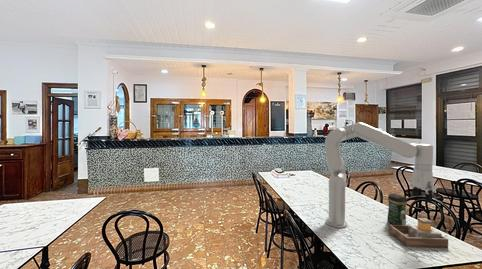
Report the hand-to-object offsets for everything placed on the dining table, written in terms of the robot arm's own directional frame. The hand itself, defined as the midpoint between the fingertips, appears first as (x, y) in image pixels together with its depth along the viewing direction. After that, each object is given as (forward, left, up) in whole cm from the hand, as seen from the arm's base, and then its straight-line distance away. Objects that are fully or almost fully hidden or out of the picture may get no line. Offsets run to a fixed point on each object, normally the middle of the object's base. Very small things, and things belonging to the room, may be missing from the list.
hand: (421, 198), depth 125 cm
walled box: (+1, -3, -22) cm, 22 cm away
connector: (0, +2, -21) cm, 21 cm away
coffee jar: (-20, -1, -23) cm, 30 cm away
